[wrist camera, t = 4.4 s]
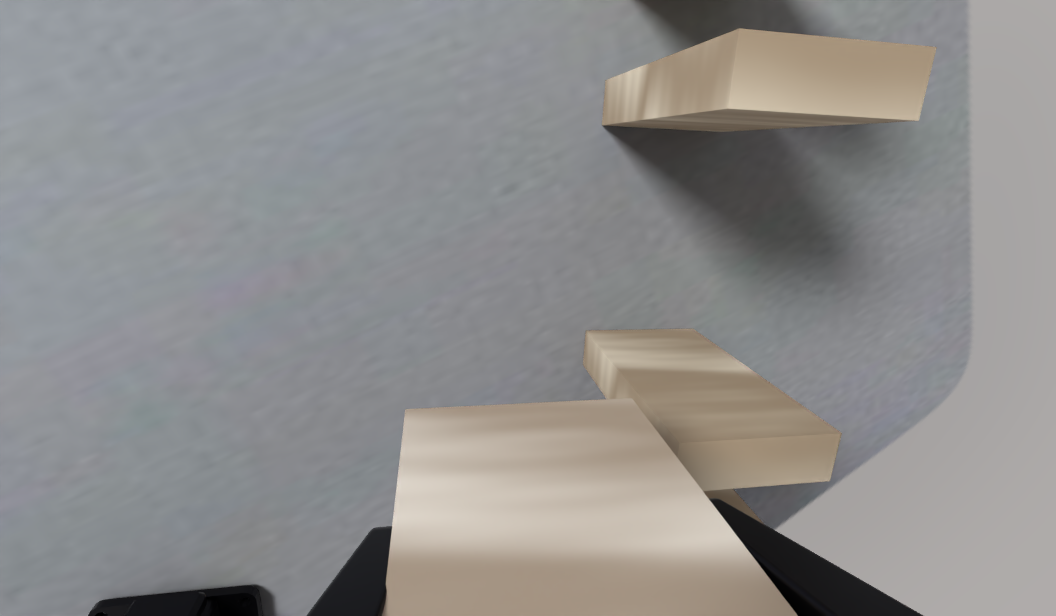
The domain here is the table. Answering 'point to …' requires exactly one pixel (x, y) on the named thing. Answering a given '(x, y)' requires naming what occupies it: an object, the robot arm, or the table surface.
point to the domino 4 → (772, 84)
